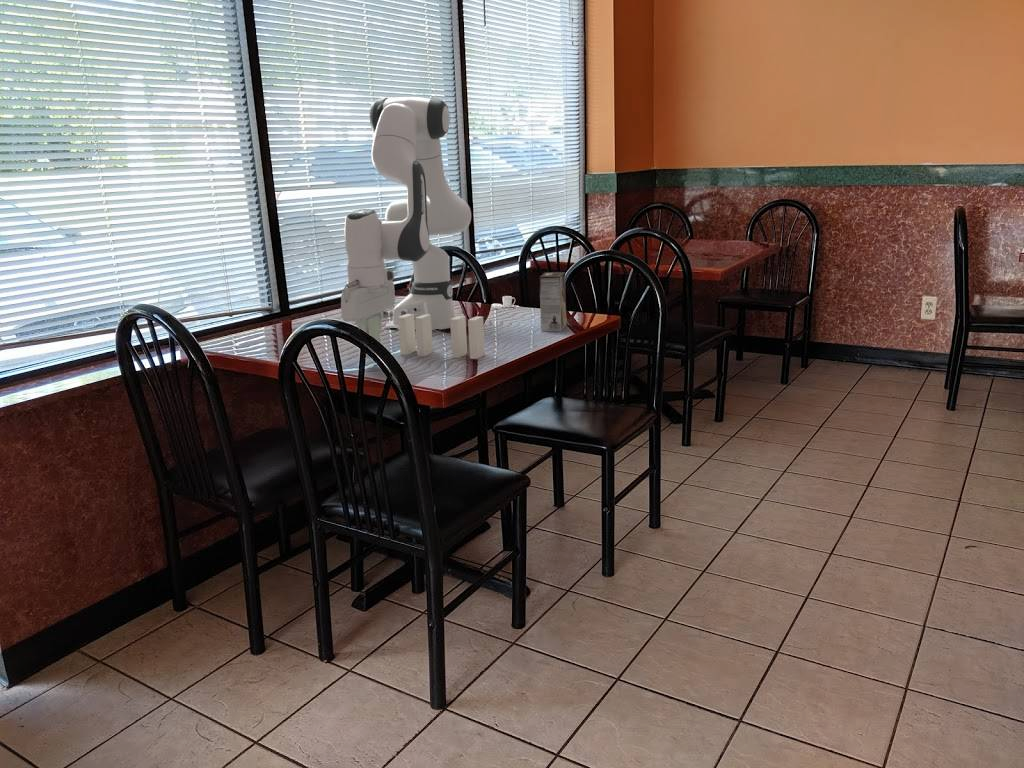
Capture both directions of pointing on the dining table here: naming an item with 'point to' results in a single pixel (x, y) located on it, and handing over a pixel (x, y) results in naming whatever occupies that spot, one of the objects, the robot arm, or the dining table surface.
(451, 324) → the domino
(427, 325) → the domino
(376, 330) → the domino
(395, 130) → the robot arm
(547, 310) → the coffee box
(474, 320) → the domino
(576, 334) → the dining table surface
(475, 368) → the dining table surface
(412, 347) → the domino
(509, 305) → the teacup and saucer
